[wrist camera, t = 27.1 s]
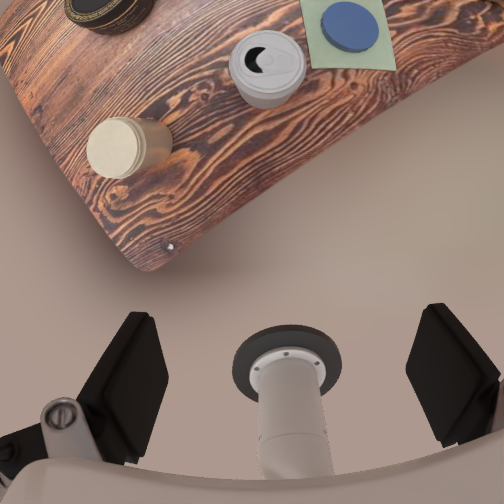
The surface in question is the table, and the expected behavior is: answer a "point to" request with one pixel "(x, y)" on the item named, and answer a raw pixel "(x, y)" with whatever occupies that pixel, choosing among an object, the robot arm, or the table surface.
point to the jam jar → (128, 146)
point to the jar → (107, 14)
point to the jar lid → (349, 27)
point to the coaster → (329, 56)
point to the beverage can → (267, 68)
